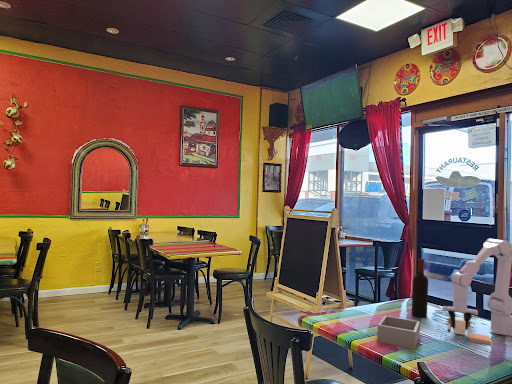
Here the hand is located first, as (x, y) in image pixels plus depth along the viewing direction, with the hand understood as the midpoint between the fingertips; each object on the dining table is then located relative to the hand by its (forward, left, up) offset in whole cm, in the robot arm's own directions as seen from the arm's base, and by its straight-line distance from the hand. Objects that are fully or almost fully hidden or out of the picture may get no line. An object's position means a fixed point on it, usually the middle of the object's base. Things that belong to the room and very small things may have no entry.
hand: (459, 328), depth 183 cm
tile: (-8, +4, -2) cm, 9 cm away
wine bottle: (+19, -21, -3) cm, 28 cm away
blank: (0, 0, -2) cm, 2 cm away
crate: (+23, +25, -2) cm, 34 cm away
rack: (0, -8, -2) cm, 8 cm away
